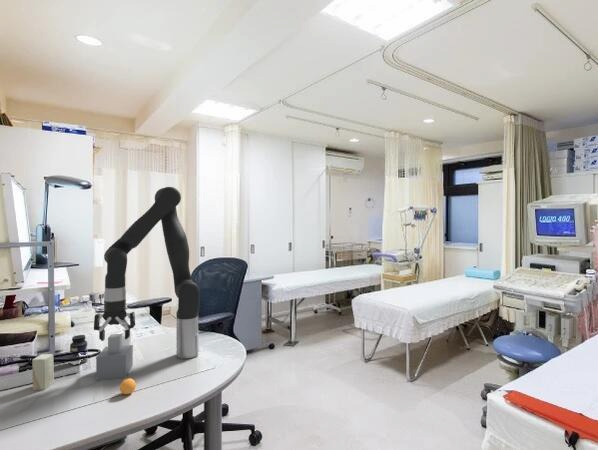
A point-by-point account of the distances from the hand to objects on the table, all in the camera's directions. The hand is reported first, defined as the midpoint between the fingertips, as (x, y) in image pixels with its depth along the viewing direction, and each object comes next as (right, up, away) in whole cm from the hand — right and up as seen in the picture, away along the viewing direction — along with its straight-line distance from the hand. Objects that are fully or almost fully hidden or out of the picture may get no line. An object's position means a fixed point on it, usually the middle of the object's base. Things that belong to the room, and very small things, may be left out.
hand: (114, 339), depth 131 cm
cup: (-9, -13, +23) cm, 28 cm away
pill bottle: (-21, -13, +10) cm, 26 cm away
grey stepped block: (0, -13, 0) cm, 13 cm away
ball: (+13, -11, -15) cm, 23 cm away
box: (-20, -14, -11) cm, 26 cm away
